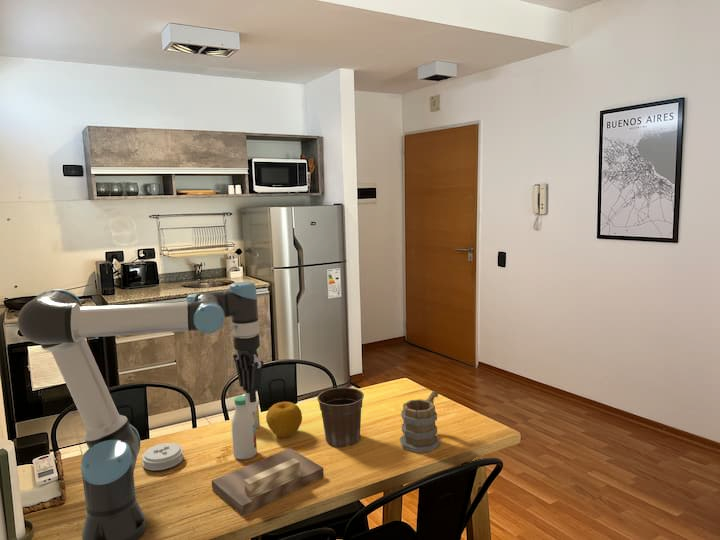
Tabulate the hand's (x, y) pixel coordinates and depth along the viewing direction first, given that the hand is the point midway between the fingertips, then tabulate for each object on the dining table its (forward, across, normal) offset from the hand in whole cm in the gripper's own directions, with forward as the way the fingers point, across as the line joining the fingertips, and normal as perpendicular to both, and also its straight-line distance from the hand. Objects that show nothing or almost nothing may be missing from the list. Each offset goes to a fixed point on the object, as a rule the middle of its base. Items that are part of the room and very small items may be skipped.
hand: (251, 411), depth 159 cm
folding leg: (+19, +10, 0) cm, 22 cm away
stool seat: (+22, +4, +2) cm, 23 cm away
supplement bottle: (+23, -33, +19) cm, 45 cm away
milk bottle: (+23, -17, +7) cm, 29 cm away
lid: (+23, -32, -15) cm, 42 cm away
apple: (+23, -19, +25) cm, 39 cm away
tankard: (+23, +21, +55) cm, 63 cm away
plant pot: (+23, -1, +36) cm, 43 cm away
